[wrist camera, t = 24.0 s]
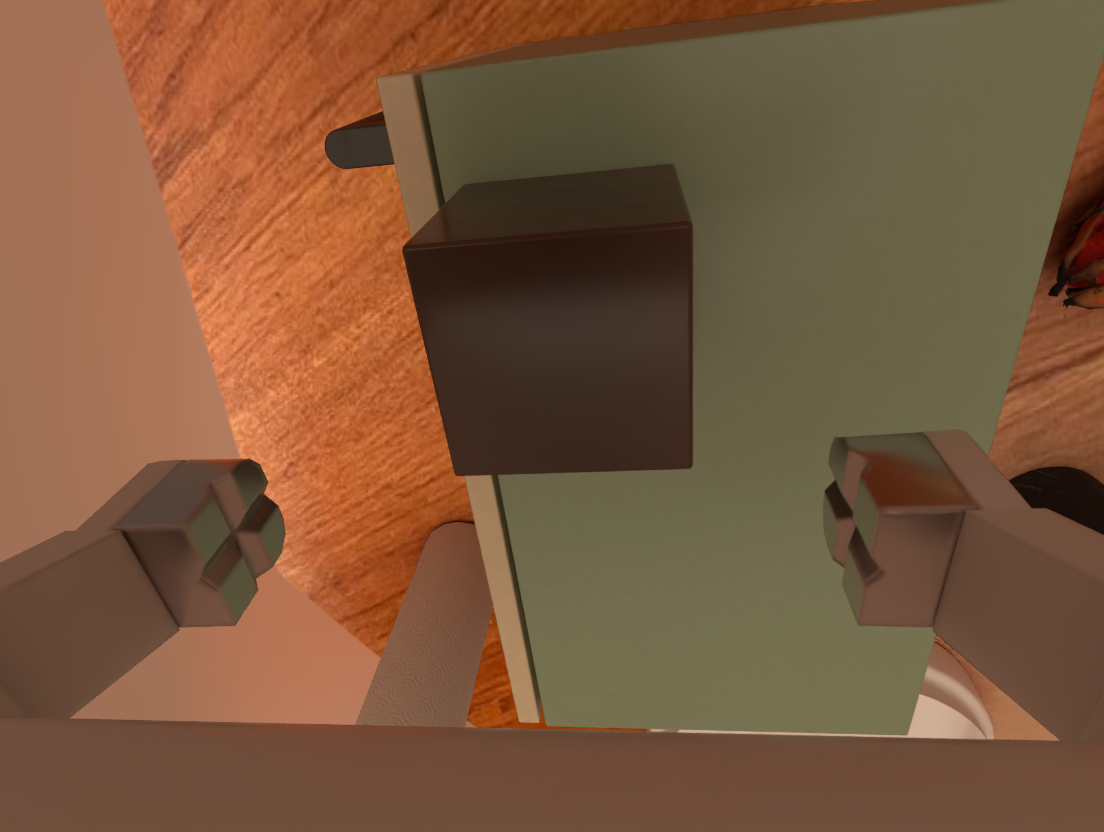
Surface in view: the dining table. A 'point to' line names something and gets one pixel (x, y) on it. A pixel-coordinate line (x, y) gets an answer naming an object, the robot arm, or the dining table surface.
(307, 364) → the dining table surface
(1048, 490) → the travel mug
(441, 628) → the paper towel roll
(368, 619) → the dining table surface
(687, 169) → the cupboard
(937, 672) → the plate
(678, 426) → the block
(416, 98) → the cupboard door
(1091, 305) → the dragon fruit
